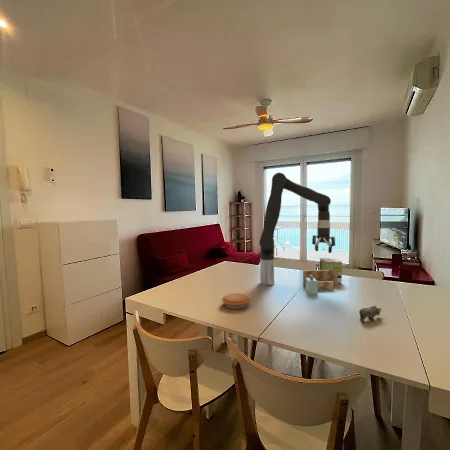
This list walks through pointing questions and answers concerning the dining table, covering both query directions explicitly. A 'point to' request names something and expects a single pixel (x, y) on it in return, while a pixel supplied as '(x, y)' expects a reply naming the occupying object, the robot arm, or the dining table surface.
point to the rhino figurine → (369, 313)
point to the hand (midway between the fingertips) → (323, 251)
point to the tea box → (332, 266)
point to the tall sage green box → (311, 285)
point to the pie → (236, 301)
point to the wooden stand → (322, 278)
